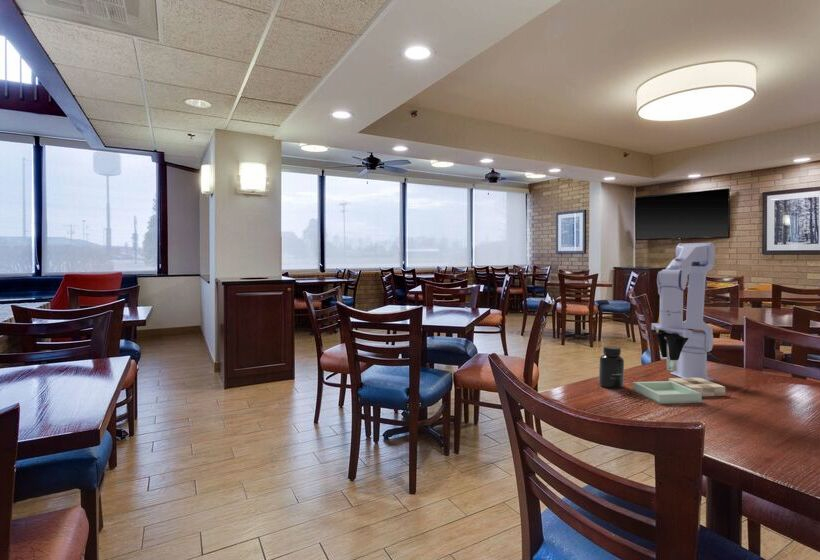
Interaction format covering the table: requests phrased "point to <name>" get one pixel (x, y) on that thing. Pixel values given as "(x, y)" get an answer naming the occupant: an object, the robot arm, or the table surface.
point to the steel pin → (670, 363)
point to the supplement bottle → (611, 368)
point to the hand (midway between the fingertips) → (670, 358)
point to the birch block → (701, 386)
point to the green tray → (667, 392)
